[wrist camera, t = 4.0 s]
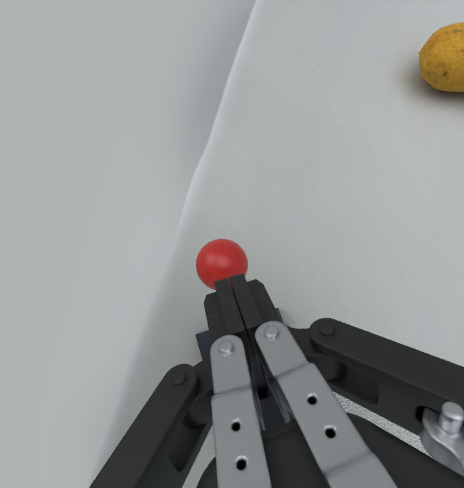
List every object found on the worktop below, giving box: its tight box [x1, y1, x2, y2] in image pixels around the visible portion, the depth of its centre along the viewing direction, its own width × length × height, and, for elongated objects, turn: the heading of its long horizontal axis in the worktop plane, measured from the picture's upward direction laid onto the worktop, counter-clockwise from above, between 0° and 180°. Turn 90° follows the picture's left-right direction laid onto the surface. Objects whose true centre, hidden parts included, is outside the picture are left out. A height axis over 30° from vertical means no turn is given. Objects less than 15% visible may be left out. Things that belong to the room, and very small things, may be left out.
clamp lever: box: [196, 239, 286, 430], centre depth 21 cm, size 14×3×3 cm, turn 17°
